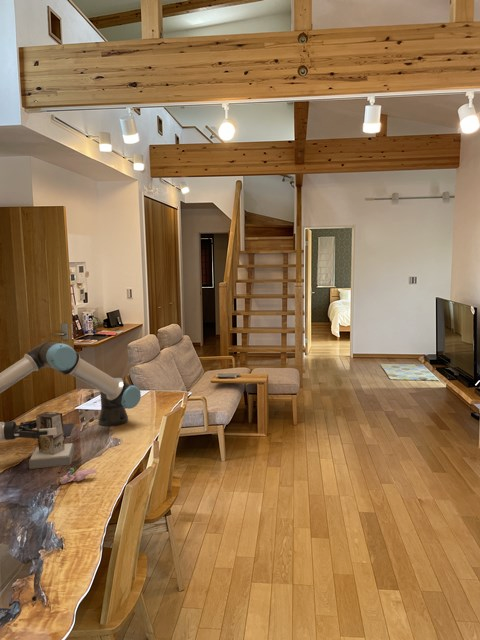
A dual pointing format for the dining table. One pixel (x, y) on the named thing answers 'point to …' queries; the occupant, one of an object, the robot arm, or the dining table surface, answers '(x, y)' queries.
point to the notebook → (68, 430)
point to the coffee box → (51, 442)
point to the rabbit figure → (78, 476)
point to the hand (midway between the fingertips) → (58, 426)
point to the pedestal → (51, 458)
